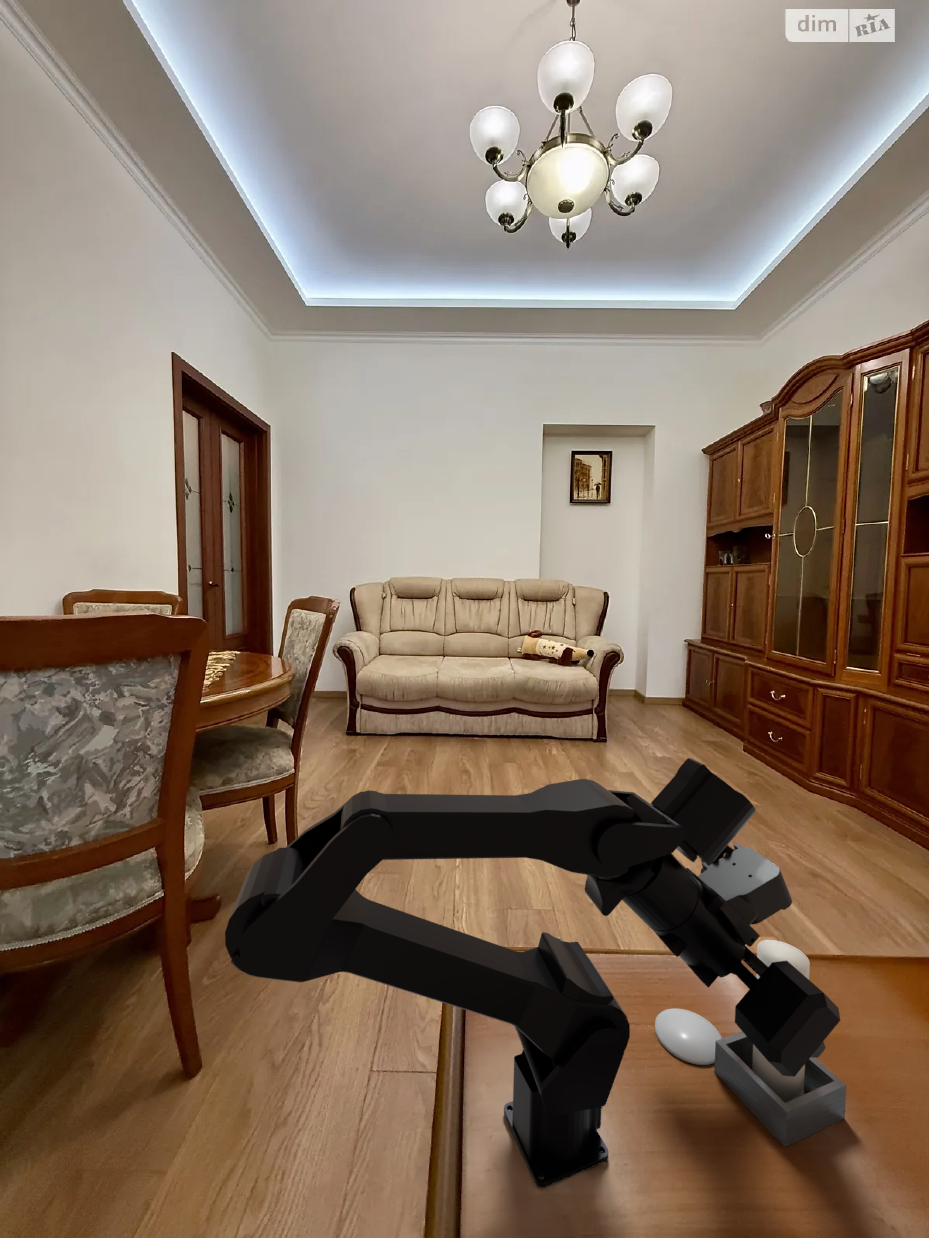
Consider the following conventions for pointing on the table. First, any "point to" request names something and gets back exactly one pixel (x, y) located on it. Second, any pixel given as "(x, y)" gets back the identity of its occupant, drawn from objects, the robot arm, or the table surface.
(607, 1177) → the table surface
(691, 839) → the robot arm
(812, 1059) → the frame
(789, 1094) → the cream peg
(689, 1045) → the white oval disc
